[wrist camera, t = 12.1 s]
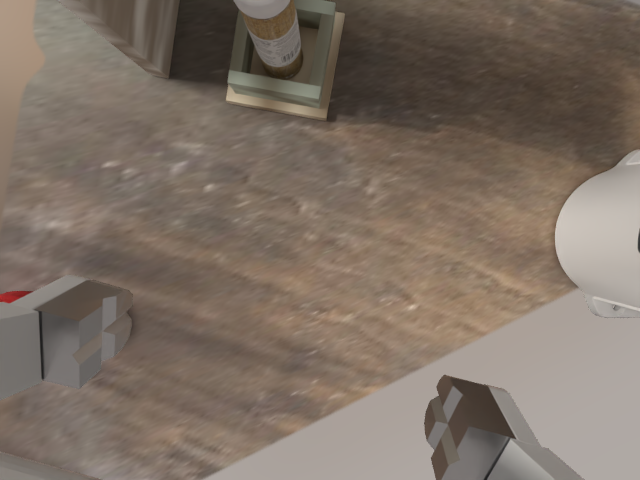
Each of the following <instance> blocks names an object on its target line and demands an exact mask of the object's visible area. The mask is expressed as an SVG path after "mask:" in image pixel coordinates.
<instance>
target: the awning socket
mask: <svg viewBox="0 0 640 480" xmlns="http://www.w3.org/2000/svg"><path fill="white" fill-rule="evenodd" d="M57 1H59V2H60V3H61V4H62V5H64V6H65V7H66V8H67V9H69V10H70V11H71V12H72V13H74V14H75V15H76V16H77V17H79V18H80V19H81V20H82V21H84V22H85V23H86V24H87V25H89V26H90V27H91V28H92V29H94V30H95V31H96V32H97V33H99V34H100V35H101V36H102V37H104V38H105V39H106V40H107V41H109V42H110V43H111V44H112V45H114V46H115V47H116V48H118V49H119V50H120V51H121V52H123V53H124V54H125V55H126V56H128V57H129V58H130V59H131V60H133V61H134V62H135V63H136V64H138V65H139V66H140V67H141V68H143V69H144V70H145V71H146V72H148V73H149V74H150V75H153V76H158V77H164V78H169V73H170V66H171V58H172V51H173V44H174V37H175V30H176V23H177V16H178V9H179V1H180V0H57ZM294 5H295V9H296V12H297V19H298V25H299V33H300V40H301V48H302V51H303V64H302V67H301V69H300V71H299V72H298V73H297V74H296V75H295V76H294V77H292V78H290V79H288V80H281V79H276V78H272V77H271V76H269V75H268V74H267V73H266V71H265V69H264V68H263V66H262V61H261V58H260V56H259V55H258V53H257V50H256V48H255V45H254V43H253V40H252V38H251V36H250V34H249V31H248V29H247V26H246V24H245V21H244V17H243V15H242V13H241V11H240V9H239V10H238V16H237V23H236V29H235V36H234V42H233V49H232V55H231V62H230V68H229V75H228V81H227V83H228V91H227V97H226V101H227V102H228V103H229V104H235V105H240V106H246V107H251V108H257V109H262V110H268V111H273V112H279V113H284V114H290V115H295V116H301V117H306V118H312V119H317V120H323V121H326V119H327V113H328V107H329V102H330V96H331V91H332V85H333V79H334V74H335V68H336V63H337V57H338V51H339V46H340V40H341V35H342V29H343V23H344V17H345V13H341V12H335V9H336V3H335V2H330V1H324V0H294Z"/></svg>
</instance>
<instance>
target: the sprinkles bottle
mask: <svg viewBox="0 0 640 480" xmlns="http://www.w3.org/2000/svg"><path fill="white" fill-rule="evenodd" d="M233 1H234V2H235V4H236V5H237V7H238V8H239V9H240V11H241V13H242V15H243V17H244V21H245V24H246V26H247V29H248V31H249V34H250V36H251V38H252V40H253V43H254V45H255V48H256V50H257V53H258V55H259V56H260V58H261V61H262V66H263V68H264V69H265V71H266V73H267V74H268V75H269V76H271V77H272V78H276V79H281V80H288V79H290V78H292V77H294V76H295V75H296V74H297V73H298V72H299V71H300V69H301V67H302V64H303V51H302V48H301V40H300V33H299V25H298V19H297V12H296V9H295V5H294V0H233Z"/></svg>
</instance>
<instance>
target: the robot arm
mask: <svg viewBox="0 0 640 480" xmlns="http://www.w3.org/2000/svg"><path fill="white" fill-rule="evenodd" d="M555 246H556V252H557V256H558V259H559V261H560V264H561V266H562V268H563V269H564V271H565V273H566V274H567V275H568V277H569V278H570V279H571V280H572V281H573V282H574V283H575V284H576V285H577V286H578V287H579V288H580V289H581V290H582V292H583V293H584V296H585V299H586V302H587V304H588V307H589V309H590V310H591V312H592V313H593V314H595V315H597V316H601V317H605V318H629V317H640V149H639V150H634V151H632V152H630V153H629V154H627V155H626V156H625V157H624V158H623V159H622V160H621V161H620V162H619V163H618V164H617V165H616V166H615V167H613V168H612V169H610V170H608V171H606V172H603V173H601V174H598V175H596V176H594V177H592V178H590V179H589V180H587V181H586V182H584V183H583V184H582V185H580V186H579V187H578V188H577V189H576V190H575V191H574V192H573V193H572V194H571V195H570V197H569V198H568V199H567V201H566V202H565V204H564V206H563V208H562V210H561V212H560V214H559V217H558V220H557V224H556V230H555ZM613 305H615V307H614V308H613ZM132 306H133V294H132V293H131V292H130V291H129V290H127V289H123V288H120V287H116V286H113V285H109V284H106V283H102V282H99V281H96V280H91V279H89V278H85V277H81V276H77V275H66V276H64V277H62V278H60V279H58V280H56V281H54V282H52V283H50V284H48V285H46V286H44V287H42V288H40V289H38V290H36V291H34V292H32V293H30V294H28V295H26V296H24V297H22V298H20V299H18V300H16V301H14V302H12V303H10V304H9V303H5V302H0V400H2V399H5V398H7V397H9V396H12V395H14V394H16V393H18V392H21V391H23V390H25V389H28V388H30V387H32V386H34V385H37V384H39V383H41V382H42V380H43V381H47V382H51V383H56V384H60V385H64V386H68V387H72V388H77V389H80V388H81V387H82V386H83V385H84V384H85V383H86V382H87V381H89V380H90V379H91V378H92V377H93V376H94V375H95V374H96V373H97V372H98V371H99V370H100V369H101V361H103V360H106V359H109V358H112V357H114V356H115V355H116V354H117V353H118V352H119V351H120V350H121V349H122V348H123V346H124V345H125V343H126V341H127V340H128V338H129V335H130V331H131V325H132V320H131V318H130V317H129V315H128V313H127V311H128V310H129V309H130V308H131V307H132ZM437 391H438V394H439V396H437V397H436V398H434V399H432V400H431V401H430V403H429V405H428V408H427V410H426V415H425V422H424V424H425V435H426V439H427V442H428V443H429V444H430V445H431V447H432V448H433V449H434V450H435V451H434V453H433V455H432V457H431V460H432V465H433V469H434V473H435V477H436V480H584V479H583V478H582V477H581V476H580V475H578V474H577V473H576V472H575V471H574V470H573V469H571V468H570V467H569V466H568V465H566V463H565V462H563V461H562V460H561V459H560V458H559V457H557V456H556V455H555V454H554V453H553V452H552V451H550V450H549V449H548V448H545V447H541V445H540V444H539V442H538V440H537V439H536V437H535V435H534V434H533V432H532V430H531V429H530V427H529V425H528V424H527V422H526V420H525V419H524V417H523V415H522V414H521V412H520V410H519V409H518V407H517V405H516V404H515V402H514V400H513V399H512V397H511V395H510V394H509V393H508V392H507V391H506V390H504V389H502V388H498V387H493V386H489V385H485V384H484V385H483V384H479V383H474V382H471V381H467V380H463V379H459V378H455V377H451V376H447V375H444V376H443V377H442V378H441V379H440V380H439V383H438V385H437ZM0 480H101V479H98V478H94V477H91V476H87V475H83V474H80V473H76V472H72V471H69V470H65V469H62V468H58V467H54V466H51V465H47V464H43V463H40V462H36V461H33V460H29V459H25V458H22V457H18V456H14V455H11V454H7V453H4V452H0Z"/></svg>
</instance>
